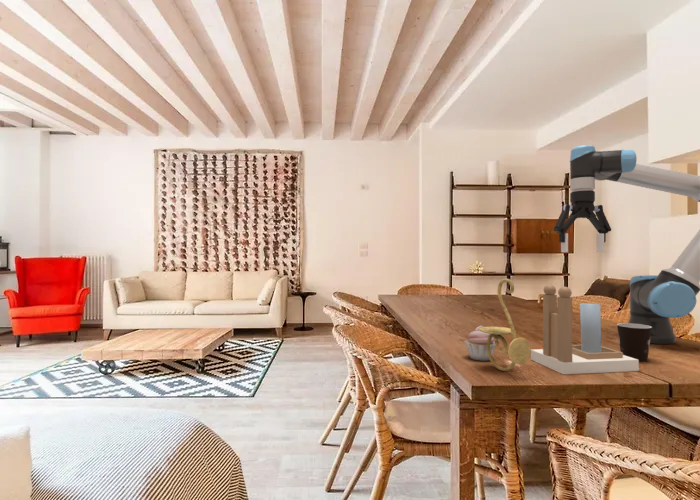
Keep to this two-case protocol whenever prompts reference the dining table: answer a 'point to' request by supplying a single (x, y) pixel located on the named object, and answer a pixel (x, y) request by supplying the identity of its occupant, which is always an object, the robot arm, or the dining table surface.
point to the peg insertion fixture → (559, 342)
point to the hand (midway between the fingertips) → (582, 252)
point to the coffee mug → (634, 340)
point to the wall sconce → (519, 346)
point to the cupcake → (479, 345)
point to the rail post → (590, 327)
